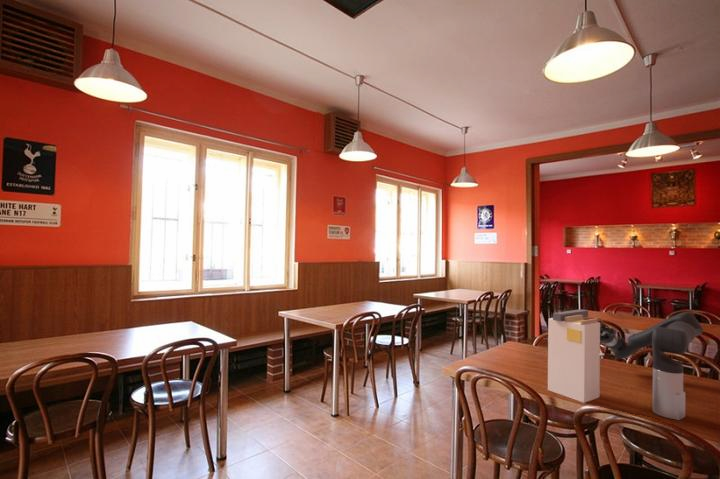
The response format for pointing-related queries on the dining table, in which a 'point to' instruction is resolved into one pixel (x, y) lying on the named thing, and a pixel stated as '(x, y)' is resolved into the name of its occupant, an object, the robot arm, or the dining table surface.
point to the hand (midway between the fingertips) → (591, 324)
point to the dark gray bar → (569, 314)
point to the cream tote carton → (574, 358)
